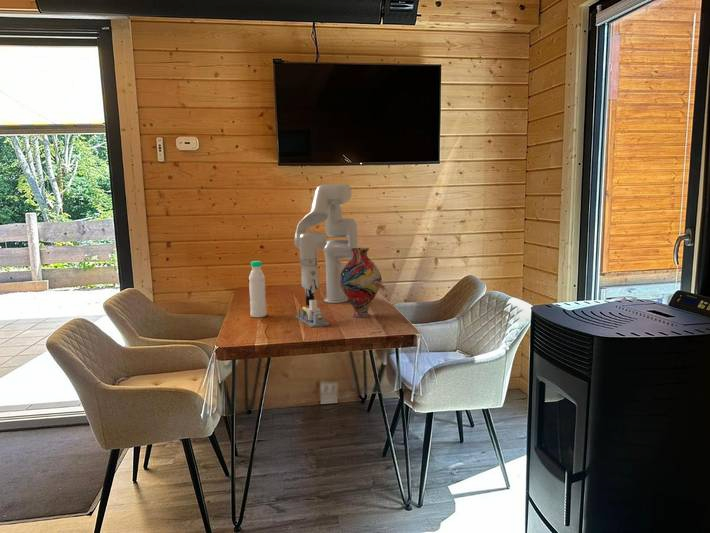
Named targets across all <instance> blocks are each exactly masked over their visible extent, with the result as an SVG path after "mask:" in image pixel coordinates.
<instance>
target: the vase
mask: <svg viewBox="0 0 710 533" xmlns="http://www.w3.org/2000/svg"><path fill="white" fill-rule="evenodd" d="M351 250H352V252H353V258H350V259H349V261H348V262H347V263H346V264H345V265H344V268H343V270H342V272H341V275H340V279H339V285H340V287H341V289H342V290H343V292H344V293H345V295H346V296H347V298H348V301H349V302H350V303H349V304H351V306H352V308H353V311H354V313H352V314H351V316H352V317H354V318H368V317H370V316H371V313H369V308H370V306H371V304H372V302H373V300H374V299H375V297H376V296H377V294H378V292H379V290H380V289H381V287H382V284H383V283H382V282H383V280H382V274H381V272H380V270H379V269H378V268H379V267H378V266H377V265H376V264H375V263H374V262H373V261H372V260H371V259H370V258H369V257H368V252H369V250H370V248H368V247H358V248H352V249H351Z"/></svg>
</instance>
